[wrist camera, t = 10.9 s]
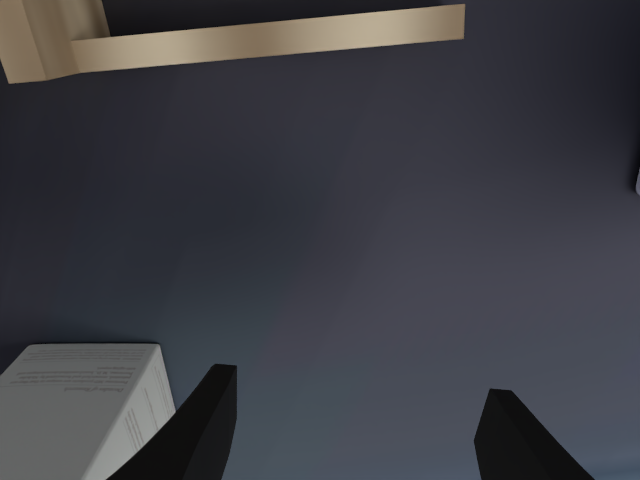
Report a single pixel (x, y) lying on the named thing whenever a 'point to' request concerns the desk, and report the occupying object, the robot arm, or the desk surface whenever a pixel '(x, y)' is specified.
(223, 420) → the robot arm
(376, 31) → the lane rack
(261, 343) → the desk surface
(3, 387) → the supplement box
